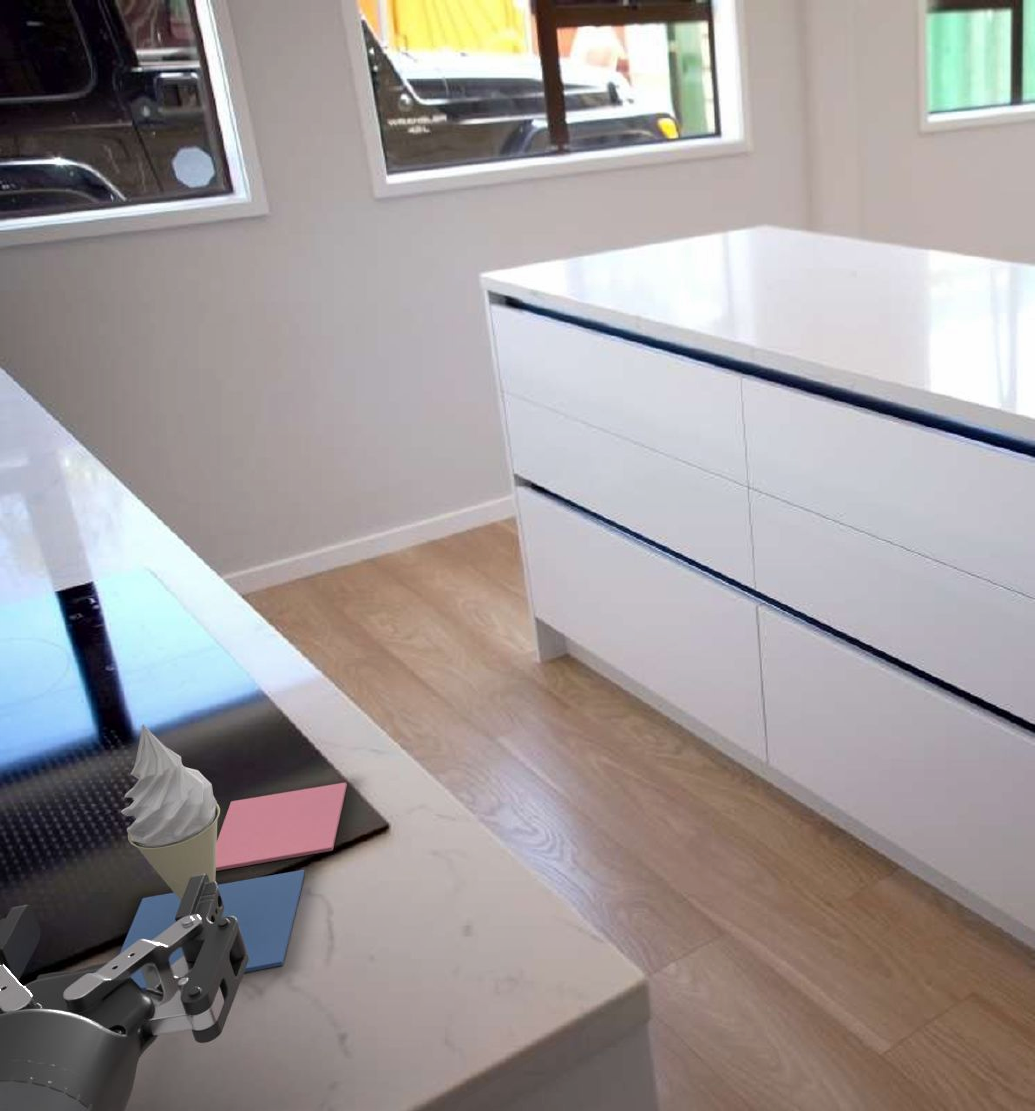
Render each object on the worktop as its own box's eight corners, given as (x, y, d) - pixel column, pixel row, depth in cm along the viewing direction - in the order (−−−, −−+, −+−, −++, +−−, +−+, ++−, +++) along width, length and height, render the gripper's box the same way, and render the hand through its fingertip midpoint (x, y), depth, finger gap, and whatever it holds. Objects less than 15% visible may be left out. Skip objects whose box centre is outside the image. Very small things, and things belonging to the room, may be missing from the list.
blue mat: (103, 999, 74) (101, 995, 74) (143, 901, 82) (142, 898, 82) (282, 965, 76) (281, 961, 76) (305, 873, 84) (304, 869, 84)
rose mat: (207, 872, 84) (206, 869, 84) (231, 804, 92) (231, 801, 91) (332, 850, 86) (331, 847, 86) (347, 785, 93) (346, 782, 93)
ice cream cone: (185, 969, 76) (112, 758, 69) (151, 932, 79) (79, 727, 73) (266, 924, 79) (204, 719, 73) (231, 891, 82) (168, 691, 76)
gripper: (165, 1051, 51) (243, 819, 65) (-233, 1130, 48) (-59, 870, 63) (213, 1182, 54) (278, 933, 68) (-159, 1263, 51) (-9, 986, 66)
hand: (117, 903), depth 66 cm, fingers open, 8 cm apart
